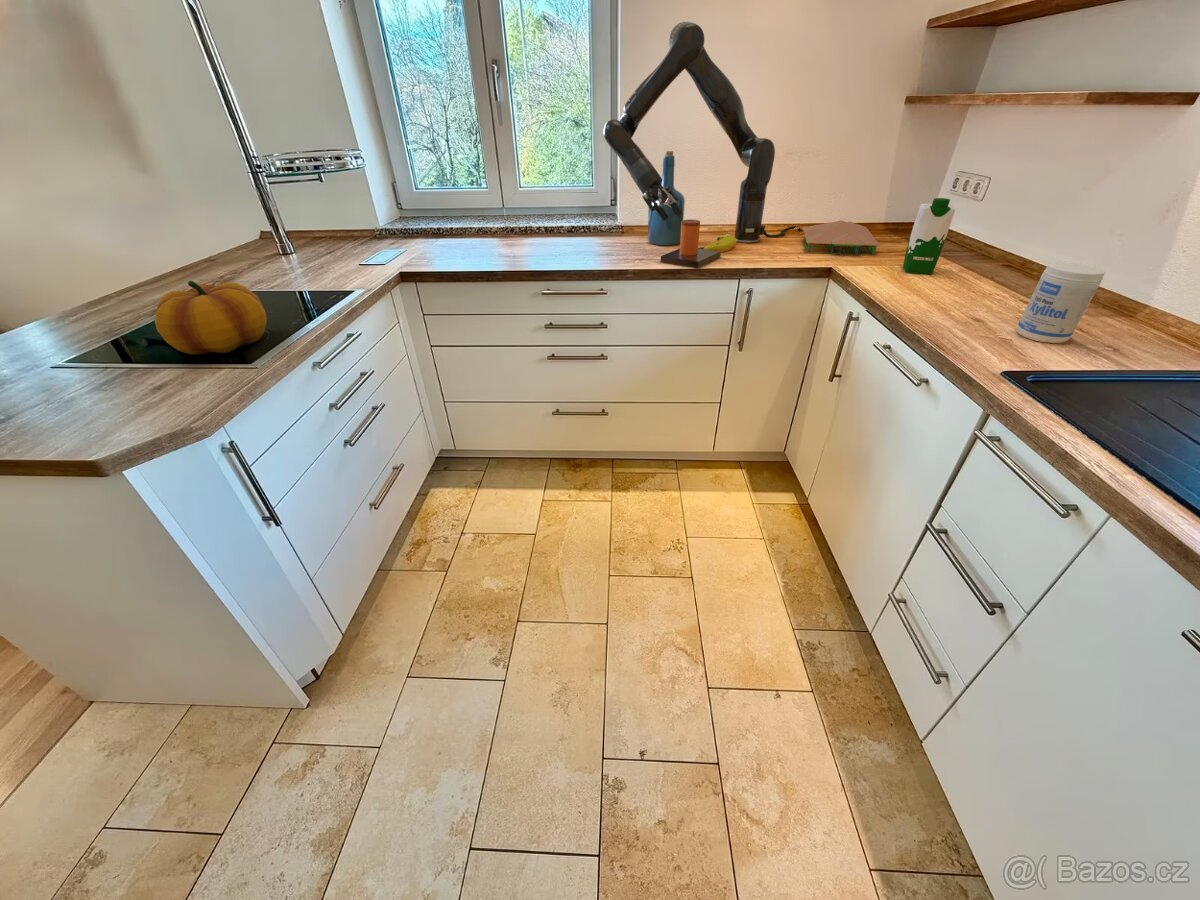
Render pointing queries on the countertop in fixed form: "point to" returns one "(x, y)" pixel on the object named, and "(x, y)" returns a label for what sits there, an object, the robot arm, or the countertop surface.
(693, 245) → the tin
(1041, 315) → the supplement tub
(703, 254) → the board
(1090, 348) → the countertop surface
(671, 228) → the wine bottle
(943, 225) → the milk carton
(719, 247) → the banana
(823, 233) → the house
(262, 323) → the decorative pumpkin
